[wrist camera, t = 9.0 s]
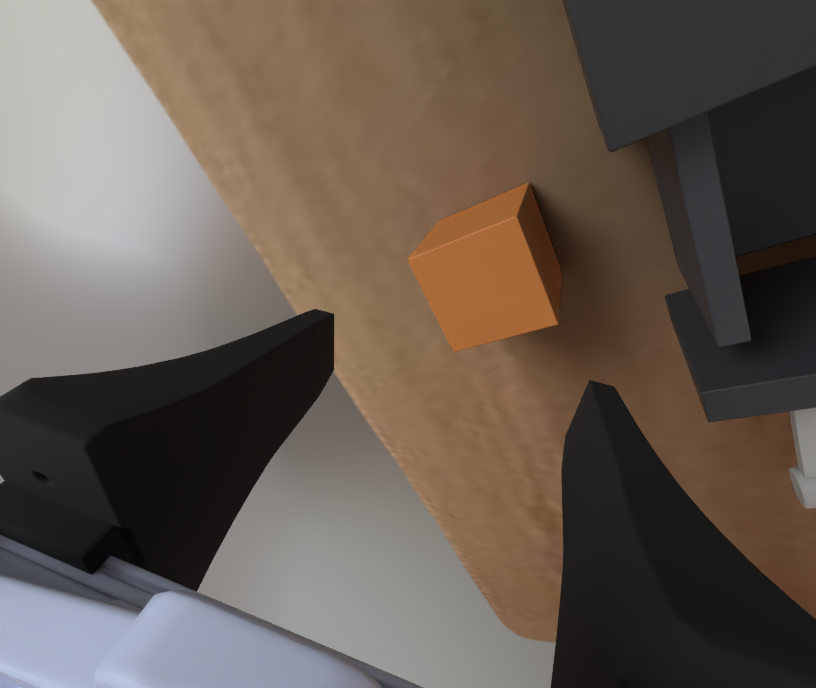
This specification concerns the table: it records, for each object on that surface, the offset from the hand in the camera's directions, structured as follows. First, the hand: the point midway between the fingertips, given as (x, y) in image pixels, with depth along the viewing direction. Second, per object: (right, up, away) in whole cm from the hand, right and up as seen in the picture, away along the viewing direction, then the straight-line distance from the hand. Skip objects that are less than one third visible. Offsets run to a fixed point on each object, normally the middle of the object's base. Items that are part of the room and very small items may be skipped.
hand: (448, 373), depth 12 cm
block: (+3, +5, +8) cm, 10 cm away
